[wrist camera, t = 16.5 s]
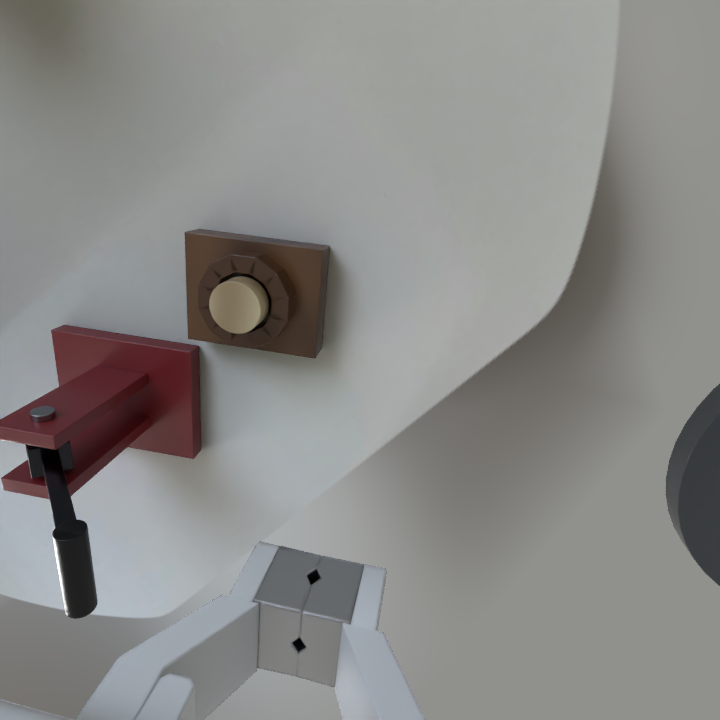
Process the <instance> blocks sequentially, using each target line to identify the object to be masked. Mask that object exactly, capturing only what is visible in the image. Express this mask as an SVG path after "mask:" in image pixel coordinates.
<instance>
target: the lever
mask: <svg viewBox="0 0 720 720" xmlns="http://www.w3.org/2000/svg"><path fill="white" fill-rule="evenodd" d="M25 445H26V451H27V457H28V462H29V468H30V473H31V478H32V479H34V478H38V477H42V476H45V481H46V486H47V491H48V496H49V501H50V506H51V511H52V516H53V521H54V526H55V529H54V531H53V533H52V537H53V543H54V549H55V555H56V561H57V566H58V572H59V578H60V584H61V590H62V596H63V602H64V608H65V613H66V615H67V616H68V617H70V618H82V617H85V616H87V615H88V614H90V613H91V612H92V611H93V610H94V609H95V608H96V606H97V594H96V587H95V579H94V572H93V565H92V557H91V550H90V542H89V535H88V527H87V524H86V523H85V522H84V521H82V520H76V516H75V512H74V508H73V504H72V501H71V497H70V493H69V489H68V485H67V481H66V477H65V474H64V471H67V470H72V469H73V468H74V466H73V459H72V452H71V445H70V440H69V441H68V442H66V443H65V444H63V445H62V446H61V447H59V448H58V449H56V450H54V449H49V448H43V447H38V446H32V445H27V444H25Z"/></svg>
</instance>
